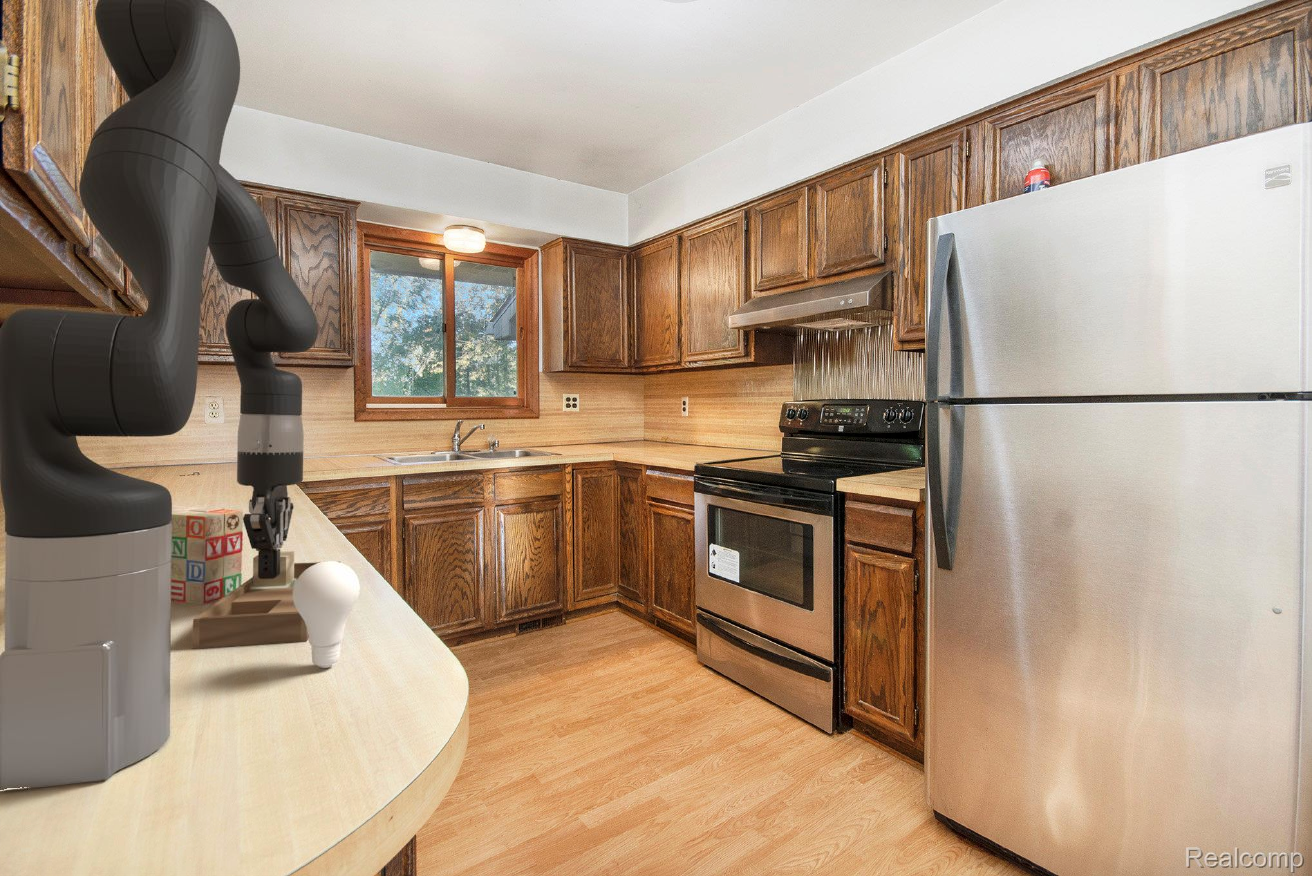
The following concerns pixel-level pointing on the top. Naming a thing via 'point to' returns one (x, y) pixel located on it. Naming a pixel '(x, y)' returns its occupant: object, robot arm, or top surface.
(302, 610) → the lightbulb
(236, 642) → the board
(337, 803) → the top surface
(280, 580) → the beech block
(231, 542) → the stack of blocks
